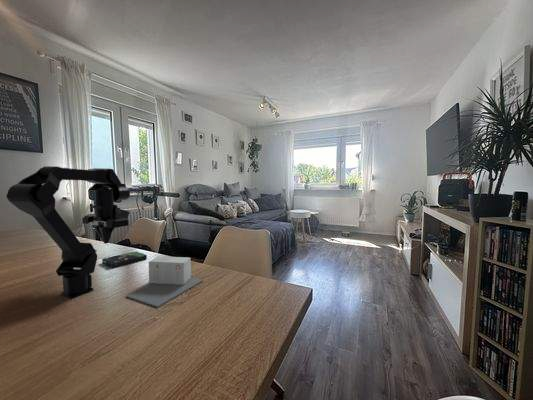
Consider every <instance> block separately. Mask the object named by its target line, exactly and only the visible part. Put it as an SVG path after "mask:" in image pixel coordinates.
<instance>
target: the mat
mask: <svg viewBox="0 0 533 400" xmlns="http://www.w3.org/2000/svg"><path fill="white" fill-rule="evenodd" d="M202 281H203V282H204V279H200V278H196V277H191V278H190V279H189V280H188V281H187V282H186V283H185V284H184V285H175V284H157V283H149V284H148V285H147V286H143V287H142V288H140V289H138V290H135V291H133V292H132V293H129V294H125V295H126V298H128V299H131V300H133V301H136V302H139V303H142V304H146V305H149V306H151V307H154V308H157V309H158V308H160V307H162V306H163V305H165V304H167V303H168V302H170V301H172V300H174V299H176V298H177V297H179V296H180V295H182V294H184V293H185V291H186V292H187V291H189V290H191V289H192V288H194V287H195V285H196V286H198V285H199V284H201V283H203V282H202ZM200 282H201V283H200ZM197 284H198V285H197ZM190 288H191V289H190Z"/></svg>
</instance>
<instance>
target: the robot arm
mask: <svg viewBox="0 0 533 400" xmlns="http://www.w3.org/2000/svg"><path fill="white" fill-rule="evenodd" d="M62 181H85V182H88V183H91V184H93V185H92V186H90V187H89V189H88V190H89V191H94V204H92V209H95V214H89V215H84V216H82V219H81V220H82V224H86V225H87V224H88V225H89V223H93V225H91V227H92V228H93V229H94V230H95V232H96V233H97V234H98V236H99V238H100V239H101V241H102V242H103V244H105V245H106V244H109V242H110V240H111V236H112V233H113V231H114V229H116V228H121V227H127V226H129V225H130V221H129V220H130V219H128V218H129V216H130V214H131V213H130V211H128V210H125V209H121V208H120V207H119V206H118V205H117V204H114V203H115V202H117V201H119V202H121V201H125V200H126V201H127V200H128V199H129V198H130V197H131V192H130V189H129V188H128V187H126V183H122V182H121V180H120V179H119V176H118V175H117V173H116V172H115V169H112V168H101V167H99V168H88V169H81V168H80V169H79V168H70V167H60V166H56V165H55V166H52V165H51V166H47V165H46V166H43V167H42V166H41V167H40V168H39V169H37V171H36V172H34V173H33V174H31V175H29V176H26V177H25V178H23V179H21V180H20V181H19V182H17V183H16V184H13V185H11V186H10V188H8V190H7V194H6V199H7V200H8V202H10V203H11V204H12V205H13V206H14V207H16V208H17V209H18V210H20V211H21V212H24V213H26V214H27V215H30V216H32V218H34V219H35V221H36V222H37V223H38V224H39V225H40V226H41V227H42V229H43V230H44V232H46V233H47V234H48V236H49V237H50V238H51V239H52V240H53V242H54V243H55V244H56V245H57V246H58V248H59V249H60V250H61V260H62V262H61V263H60V265H59V266H58V267H57V268H56V270H55V272H56V274H57V276H58V277H60V276H61V277H62V288H63V289H62V290H63V291H61V292H60V295H62V296H64V297H67V298H69V299H73V298H76V297H78V296H81V295H84V294H87V293H89V292H92V291H94V288H93V282H92V280H93V279H92V274H93V273H94V272H95V269H96V265H97V261H98V254H97V249H95V248H94V246H93V244H92V243H91V242H81V241H80V240H79V239H78V237H77V236H76V235H75V234H74V232H73V231H72V230H71V228H70V226H68V224H67V223H66V221H65V220H64V219H63V218H62V216H61V215H60V213H59V212H58V211H57V210H56V198H55V196H54V195H55V194H56V193H57V192H58V191H59V189H60V185H61V182H62Z"/></svg>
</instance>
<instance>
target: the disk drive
mask: <svg viewBox="0 0 533 400" xmlns="http://www.w3.org/2000/svg"><path fill="white" fill-rule="evenodd" d="M147 256H148V255H147V254H145V253H144V252H139V251H130V252H126V253H123V254H117V255H113V256H109V257H104V258H102V260H101V262H102V264H103V265H104V266H105V267H108V268H109V269H111V270H112V269H116V268H117V269H118V268H120V267H124V266H127V265H131V264H134V263H135V262H136V263H138V262H139V261H140V262H143V261H146V259H147V258H148V257H147ZM147 260H148V259H147Z"/></svg>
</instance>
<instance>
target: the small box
mask: <svg viewBox="0 0 533 400" xmlns="http://www.w3.org/2000/svg"><path fill="white" fill-rule="evenodd" d="M191 264H192V261H191V257H187V256H186V257H184V256H183V257H182V256H161V255H159V256H156V257H154V258H153V259H151V260H149V261H148V283H149V284H152V283H157V284H175V285H184V284H185V283H186V282H187V281H188V280H189V279H190V278H191V276H192V274H191V273H192V272H191V271H192V270H191V268H192V267H191Z"/></svg>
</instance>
